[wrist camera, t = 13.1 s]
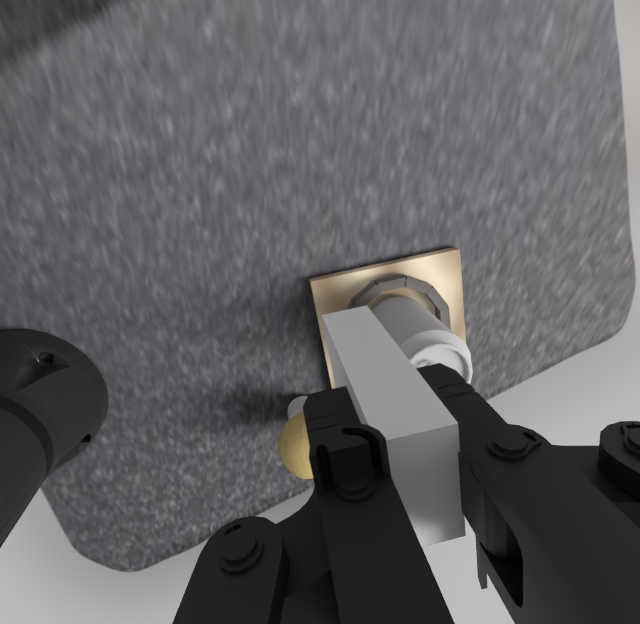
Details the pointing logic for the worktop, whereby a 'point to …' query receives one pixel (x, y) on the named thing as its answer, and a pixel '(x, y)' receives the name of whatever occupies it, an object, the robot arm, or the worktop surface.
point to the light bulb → (295, 441)
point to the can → (423, 335)
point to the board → (395, 289)
